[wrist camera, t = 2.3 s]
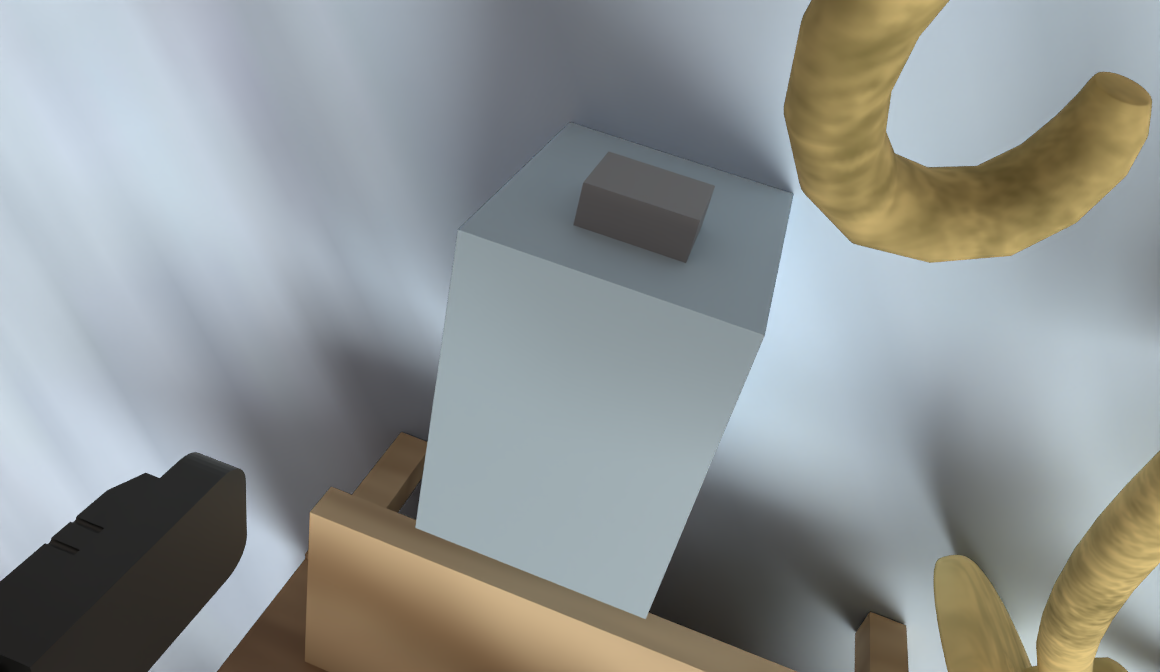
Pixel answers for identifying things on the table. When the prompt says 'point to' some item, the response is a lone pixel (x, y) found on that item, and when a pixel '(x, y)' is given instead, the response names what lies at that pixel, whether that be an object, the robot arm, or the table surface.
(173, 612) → the robot arm
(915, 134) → the table surface
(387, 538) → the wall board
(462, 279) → the grey rectangular box
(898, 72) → the wall sconce
